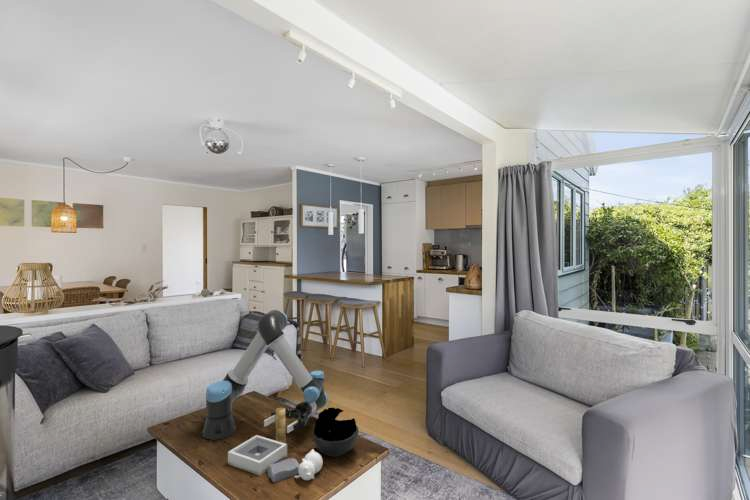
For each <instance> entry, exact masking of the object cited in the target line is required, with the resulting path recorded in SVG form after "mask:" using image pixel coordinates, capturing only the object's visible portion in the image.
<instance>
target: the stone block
mask: <svg viewBox="0 0 750 500" xmlns="http://www.w3.org/2000/svg"><path fill="white" fill-rule="evenodd" d="M299 465H300V463H299V462H298V460H297V459H296V458H294V457H289V458H286V459H285V458H284V459H282V460H281V461H279V462H278V463H275V464H270V465H269V466H268V470H267V476H268V477H269V478H270V480H271V482H272V483H277V482H280V481H282V480H287V479H289V478H291V477H294V476H298V475H299V472H298V468H299Z"/></svg>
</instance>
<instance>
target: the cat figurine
mask: <svg viewBox="0 0 750 500" xmlns="http://www.w3.org/2000/svg"><path fill="white" fill-rule="evenodd" d="M301 461H302V462H300V463H299V468H298V472H299V474H297V475H295V476H293V477H294V479H298V478H301V479H302V480H304V481H310V480H315V474H317V473H319V472H320V471H321V470H322V469H323V468H322V467H323V465H324V464H323V463H324V462H323V461H324V460H323V457H322V455H321V454H320V453H318V452H317V451H315V449H314V448H312V449H311V450H310V451H309V452H308V453H307V454H305V456H304V458H301Z"/></svg>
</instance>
